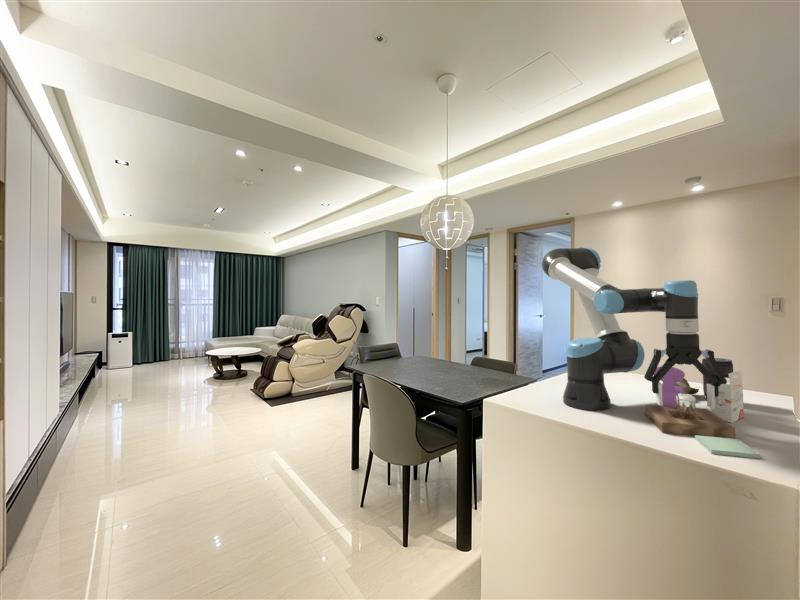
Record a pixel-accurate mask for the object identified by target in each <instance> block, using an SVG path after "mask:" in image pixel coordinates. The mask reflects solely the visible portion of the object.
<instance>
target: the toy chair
mask: <svg viewBox="0 0 800 600" xmlns="http://www.w3.org/2000/svg"><path fill="white" fill-rule="evenodd" d="M662 366H663V365H662ZM662 366H657V369H656V371H655V373H654V375H655V374H656V373H657V371H658V370H659V369H660V368H661V367H662ZM654 375H653V376H654ZM685 375H686V374H685V371H683V370H682V369H679V368H677V367H675V366H672V367H671V369H670V370H669V371H668V372H667V373H666V374H665V375H664V377H663V378H662V379H661V380H660V382H662V383H663V384H662V383H661V384H662V404H663V406H671V407H677V401H676V396H677V395H676V393H675V392H677V394H680V393H681V394H682V391H683V390H682V386H674V385H675V383H676V382H679V381H680V380H682V379H683V378H685V377H686V376H685Z"/></svg>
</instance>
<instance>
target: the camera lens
mask: <svg viewBox="0 0 800 600" xmlns="http://www.w3.org/2000/svg"><path fill="white" fill-rule="evenodd" d="M714 358H715V360H716V362H717V364H718V366H719V368H720V370H721V371H722V373H723V375H724V377H725V378H729V373H732V372H734V364H733V361H732V360H731V359H730V358H729V359H728V358H722V357H721V358H719V357H714ZM701 364H702V365H703V366H704V367H705V369H706V370H707V371H708V372H709V373H710V374H711V375H712V376H713V377H714V378H715V379H716V377H715V375H714V373H713V371H712V369H711V367H710V366H709V364H708V362H707V360H706V358H705V357H703V358H702V361H701ZM702 376H703V375H702ZM702 383H703V384H702V386H703V388H702V389H703V395H704V397H705V401H706V402H707V384H711V383H710V382H709V381H708V380H707V379H706V378H705V377H704V376H703V377H702Z"/></svg>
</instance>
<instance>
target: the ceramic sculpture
mask: <svg viewBox="0 0 800 600" xmlns="http://www.w3.org/2000/svg"><path fill="white" fill-rule="evenodd" d="M661 384H663V382H662V383H661ZM674 386H682V390H683V391H682V394H688V395H692V396H694V395H696V394H698V392H699V390H700V389H699V388H695V387H691V385H690V384H689V381H688V380H687V379H686V378H685V377H684V378H683V379H682V380H680V381H679V382H676V383H675V385H674Z"/></svg>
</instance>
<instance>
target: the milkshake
mask: <svg viewBox="0 0 800 600" xmlns="http://www.w3.org/2000/svg"><path fill="white" fill-rule="evenodd" d="M675 393H676V395H677V396H676V401H677V408H678V415H679V418H680V419H693V420H694V417H695V408H696V401H697V399H696V397H695V396H694V395H690V394H681V393H680V394H677V392H675Z"/></svg>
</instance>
